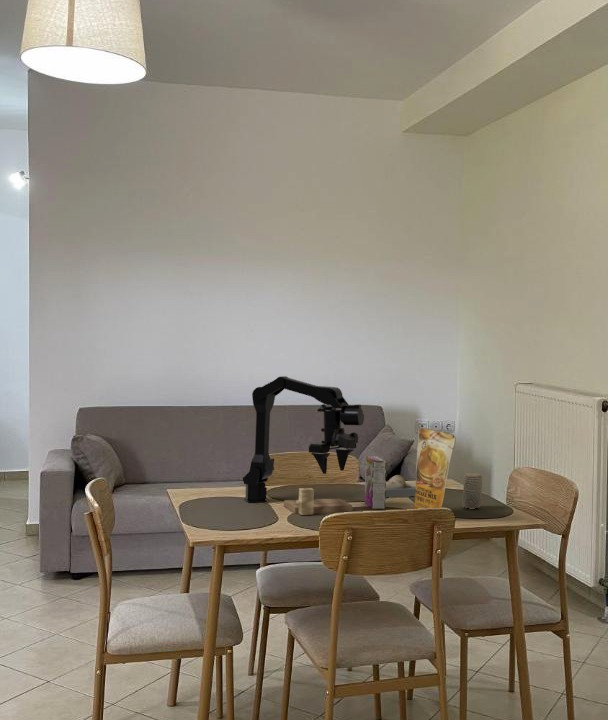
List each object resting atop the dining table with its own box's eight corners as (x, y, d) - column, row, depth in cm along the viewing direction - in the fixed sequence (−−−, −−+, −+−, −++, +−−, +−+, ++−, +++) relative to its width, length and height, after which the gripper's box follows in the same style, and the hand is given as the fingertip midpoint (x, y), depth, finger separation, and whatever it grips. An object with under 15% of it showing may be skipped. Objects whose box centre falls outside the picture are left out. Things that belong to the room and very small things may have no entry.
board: (294, 513, 270) (294, 507, 270) (283, 506, 281) (283, 500, 281) (352, 511, 276) (352, 505, 276) (339, 504, 288) (339, 498, 288)
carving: (460, 509, 285) (461, 474, 285) (464, 505, 292) (465, 471, 292) (479, 511, 283) (480, 476, 282) (482, 507, 290) (483, 473, 289)
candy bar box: (363, 502, 292) (364, 456, 291) (377, 502, 292) (378, 456, 292) (371, 509, 281) (372, 460, 280) (385, 509, 281) (387, 460, 281)
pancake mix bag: (423, 509, 283) (426, 427, 283) (455, 521, 266) (458, 433, 265) (406, 510, 281) (408, 427, 280) (437, 522, 263) (440, 433, 263)
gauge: (301, 514, 267) (302, 490, 267) (292, 509, 275) (293, 485, 275) (313, 514, 268) (313, 489, 268) (304, 509, 276) (305, 484, 276)
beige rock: (373, 494, 310) (382, 469, 314) (395, 505, 313) (404, 480, 316) (382, 492, 304) (391, 467, 307) (405, 504, 306) (413, 479, 310)
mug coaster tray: (381, 498, 302) (382, 489, 302) (366, 491, 315) (366, 483, 315) (419, 496, 306) (419, 488, 306) (402, 490, 320) (403, 482, 320)
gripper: (333, 428, 265) (334, 477, 265) (368, 423, 279) (369, 470, 279) (307, 426, 273) (308, 474, 273) (342, 422, 287) (343, 468, 287)
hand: (333, 472), depth 278 cm, fingers open, 9 cm apart
